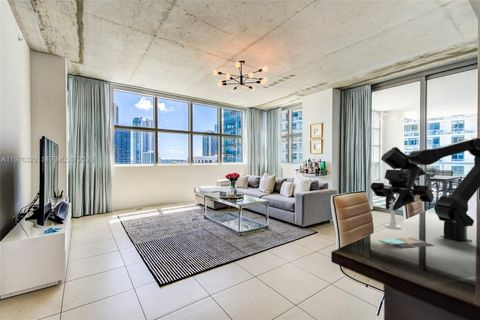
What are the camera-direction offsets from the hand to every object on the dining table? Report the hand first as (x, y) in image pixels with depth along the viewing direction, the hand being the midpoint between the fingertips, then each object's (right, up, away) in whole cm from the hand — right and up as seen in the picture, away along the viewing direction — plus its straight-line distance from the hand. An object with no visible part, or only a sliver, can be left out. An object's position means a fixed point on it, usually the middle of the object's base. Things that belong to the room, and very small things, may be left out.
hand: (390, 209), depth 78 cm
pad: (+1, -12, 0) cm, 12 cm away
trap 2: (+9, -11, -3) cm, 15 cm away
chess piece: (+1, -7, 0) cm, 7 cm away
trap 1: (+2, -11, -4) cm, 12 cm away
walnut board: (+5, -12, -1) cm, 13 cm away
